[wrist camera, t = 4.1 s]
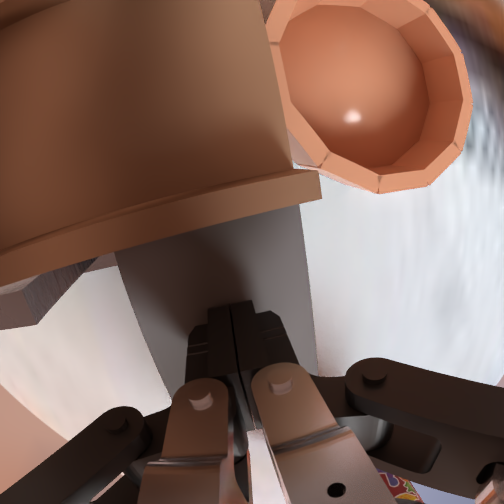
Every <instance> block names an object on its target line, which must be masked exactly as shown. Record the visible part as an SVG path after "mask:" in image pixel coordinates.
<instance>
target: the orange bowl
mask: <svg viewBox="0 0 504 504" xmlns="http://www.w3.org/2000/svg"><path fill="white" fill-rule="evenodd" d="M429 7H430V5H428V4H427V3H426V2H424V1H423V0H276V2H275V4H274V6H273V8H272V11H271V13H270V15H269V17H268V19H267V22H266V24H265V26H266V31H267V35H268V39H269V44H270V48H271V53H272V58H273V62H274V67H275V72H276V76H277V81H278V86H279V91H280V96H281V102H282V107H283V112H284V117H285V123H286V128H287V134H288V139H289V145H290V151H291V157H292V160H293V161H294V162H295V163H297V164H298V165H299V166H302V167H304V168H307V169H309V170H318V173H319V174H321V175H324V176H326V177H328V178H331V179H333V180H336V181H338V182H340V183H342V184H345V185H348V186H352V187H355V188H359V189H362V190H366V191H369V192H372V193H376V194H383V193H389V192H395V191H401V190H407V189H414V188H420V187H427V186H428V185H430V184H431V183H432V182H433V181H434V180H435V179H436V178H437V177H438V176H439V175H440V174H441V173H442V172H443V171H444V170H445V169H446V168H447V167H448V166H449V165H450V164H451V163H452V162H453V161H454V160H455V159H456V158H457V157H458V156H459V155H460V154H461V152H460V151H462V150H463V146H464V143H465V139H466V135H467V131H468V126H469V122H470V118H471V113H472V108H473V105H472V104H471V103H473V100H472V94H471V89H470V84H469V79H468V74H467V70H466V65H465V61H464V57H463V54H461V53H460V52H462V51H461V49H460V48H459V46H458V45H457V43H456V42H455V40H454V38H453V37H452V35H451V34H450V32H449V31H448V29H447V28H446V26H445V25H444V24H443V22H442V21H441V19H440V18H439V17H438V15H437V14H436V12H435V11H434V10H433V8H430V9H429Z"/></svg>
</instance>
